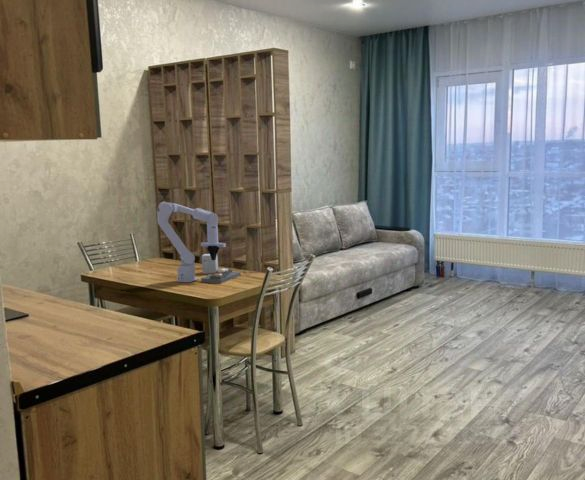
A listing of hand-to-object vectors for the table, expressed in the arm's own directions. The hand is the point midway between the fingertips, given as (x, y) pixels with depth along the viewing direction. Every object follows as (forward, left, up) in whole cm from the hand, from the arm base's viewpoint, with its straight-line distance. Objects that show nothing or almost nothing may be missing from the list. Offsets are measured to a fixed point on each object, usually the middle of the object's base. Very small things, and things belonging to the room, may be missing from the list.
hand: (213, 259), depth 309 cm
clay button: (-7, -7, -8) cm, 13 cm away
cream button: (-1, -5, -6) cm, 8 cm away
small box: (+12, +10, -10) cm, 19 cm away
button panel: (-1, -5, -10) cm, 11 cm away
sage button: (+5, -3, -8) cm, 10 cm away
